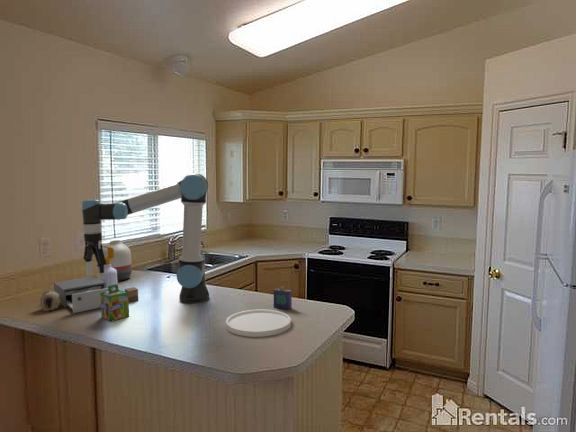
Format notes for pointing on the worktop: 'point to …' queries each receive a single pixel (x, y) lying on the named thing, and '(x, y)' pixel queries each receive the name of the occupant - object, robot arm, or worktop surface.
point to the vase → (120, 259)
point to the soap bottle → (110, 270)
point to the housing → (75, 287)
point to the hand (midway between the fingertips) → (95, 277)
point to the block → (132, 294)
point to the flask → (282, 298)
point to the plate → (258, 323)
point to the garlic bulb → (50, 300)
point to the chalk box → (114, 304)
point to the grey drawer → (85, 298)
